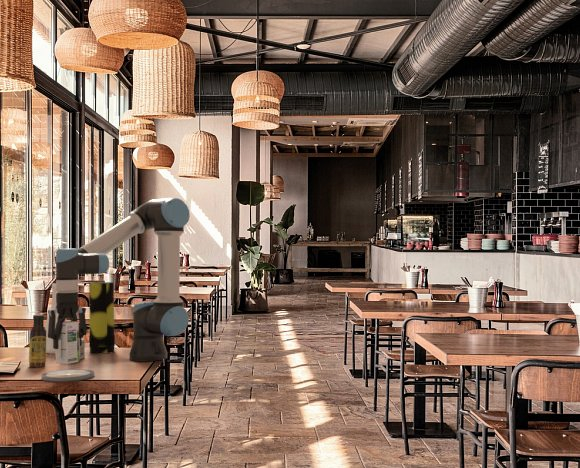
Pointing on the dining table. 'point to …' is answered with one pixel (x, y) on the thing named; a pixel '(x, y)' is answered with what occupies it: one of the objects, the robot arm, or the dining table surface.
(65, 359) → the syrup box
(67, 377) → the dish
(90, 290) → the container
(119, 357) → the dining table surface
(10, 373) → the dining table surface
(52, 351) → the wine bottle
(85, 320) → the robot arm
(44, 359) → the sauce bottle
